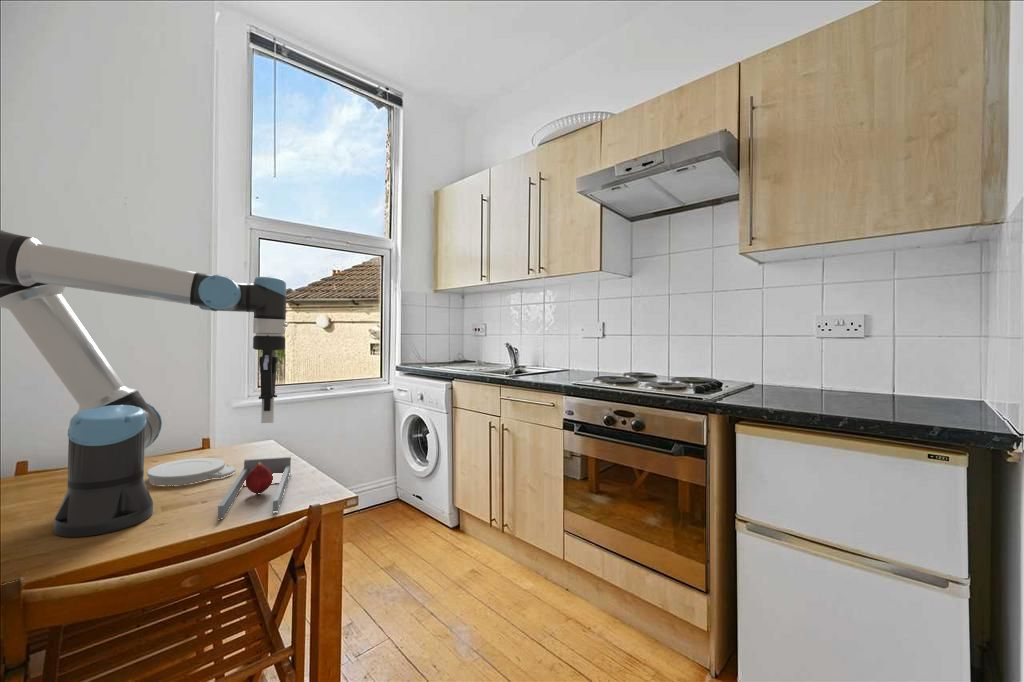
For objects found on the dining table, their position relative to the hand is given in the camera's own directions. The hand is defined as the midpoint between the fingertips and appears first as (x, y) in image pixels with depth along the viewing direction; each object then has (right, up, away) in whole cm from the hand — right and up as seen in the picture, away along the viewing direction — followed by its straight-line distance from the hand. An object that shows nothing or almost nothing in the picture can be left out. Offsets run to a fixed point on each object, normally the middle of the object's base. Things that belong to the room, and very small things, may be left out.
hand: (267, 422), depth 116 cm
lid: (-22, -16, +3) cm, 28 cm away
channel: (+3, -17, -8) cm, 19 cm away
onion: (+3, -17, -8) cm, 19 cm away
